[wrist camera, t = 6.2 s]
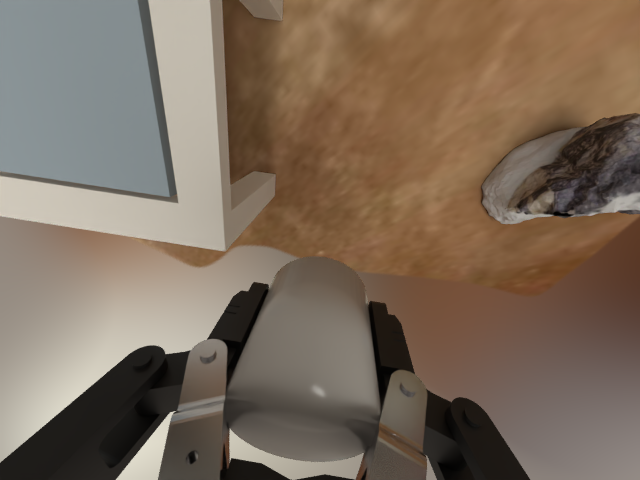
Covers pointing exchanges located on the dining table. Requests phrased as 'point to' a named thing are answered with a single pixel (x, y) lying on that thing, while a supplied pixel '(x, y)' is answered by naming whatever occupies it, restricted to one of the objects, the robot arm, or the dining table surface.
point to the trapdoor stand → (185, 143)
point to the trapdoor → (83, 95)
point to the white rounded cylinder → (308, 367)
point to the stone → (569, 173)
